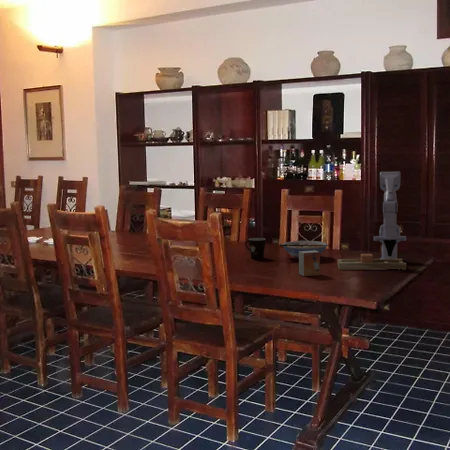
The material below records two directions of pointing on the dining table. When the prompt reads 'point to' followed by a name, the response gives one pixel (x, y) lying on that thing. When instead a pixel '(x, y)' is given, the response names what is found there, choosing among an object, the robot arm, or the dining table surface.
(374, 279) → the dining table surface
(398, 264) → the trap lane
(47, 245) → the dining table surface
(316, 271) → the small box
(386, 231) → the robot arm
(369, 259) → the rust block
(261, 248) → the coffee mug
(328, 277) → the dining table surface
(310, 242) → the ramen bowl
